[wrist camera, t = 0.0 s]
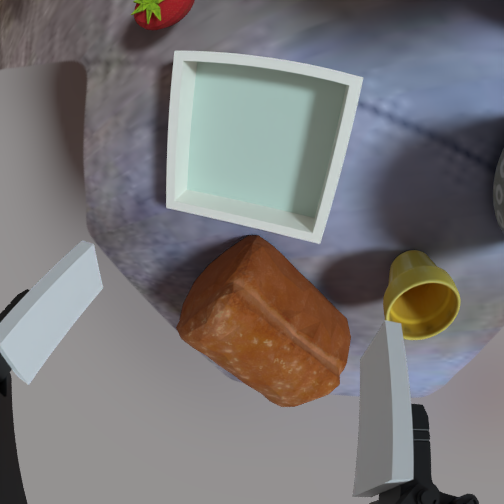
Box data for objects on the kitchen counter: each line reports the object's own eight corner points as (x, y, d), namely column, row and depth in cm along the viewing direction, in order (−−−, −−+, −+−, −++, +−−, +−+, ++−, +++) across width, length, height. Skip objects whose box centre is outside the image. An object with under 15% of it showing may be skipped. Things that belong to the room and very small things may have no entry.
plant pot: (427, 224, 36) (448, 266, 28) (450, 275, 39) (468, 319, 31) (365, 259, 42) (371, 306, 34) (395, 303, 45) (402, 350, 37)
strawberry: (220, 5, 27) (185, -13, 19) (175, 43, 30) (130, 39, 22) (193, -22, 25) (153, -42, 17) (151, 15, 28) (103, 8, 20)
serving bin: (192, 52, 31) (174, 50, 27) (357, 77, 29) (363, 77, 25) (181, 192, 42) (166, 207, 38) (321, 224, 40) (320, 244, 36)
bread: (284, 358, 58) (270, 423, 46) (189, 280, 52) (151, 344, 40) (357, 323, 49) (358, 398, 37) (257, 223, 43) (226, 292, 31)
